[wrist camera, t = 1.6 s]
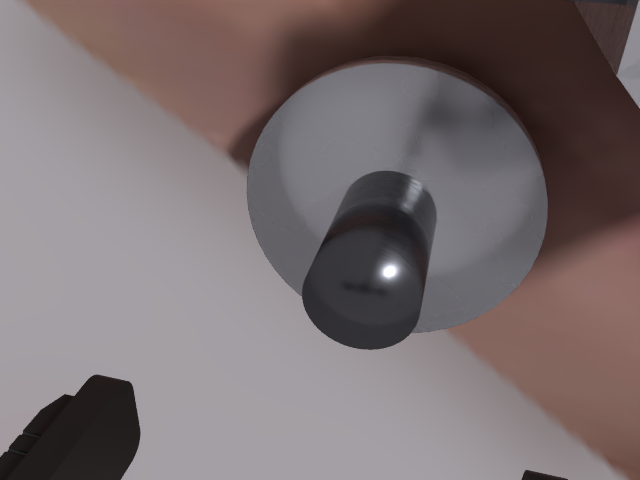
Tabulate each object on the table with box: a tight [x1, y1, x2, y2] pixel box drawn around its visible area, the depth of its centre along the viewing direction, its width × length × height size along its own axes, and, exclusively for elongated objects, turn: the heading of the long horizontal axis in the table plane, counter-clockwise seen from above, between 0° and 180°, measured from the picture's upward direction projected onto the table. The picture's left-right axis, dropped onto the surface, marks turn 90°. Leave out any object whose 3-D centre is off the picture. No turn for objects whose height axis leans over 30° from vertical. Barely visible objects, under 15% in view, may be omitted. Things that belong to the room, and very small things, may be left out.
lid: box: [247, 55, 548, 350], centre depth 19 cm, size 10×10×8 cm
